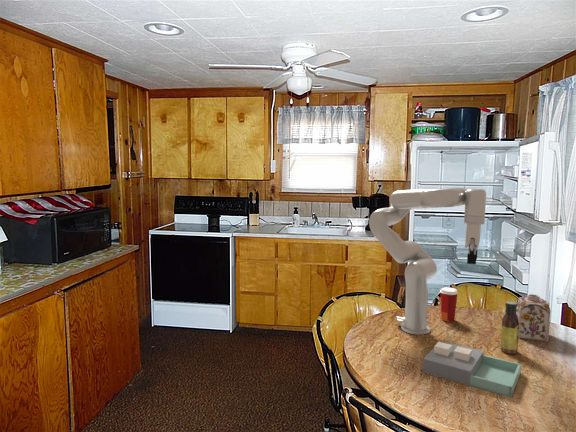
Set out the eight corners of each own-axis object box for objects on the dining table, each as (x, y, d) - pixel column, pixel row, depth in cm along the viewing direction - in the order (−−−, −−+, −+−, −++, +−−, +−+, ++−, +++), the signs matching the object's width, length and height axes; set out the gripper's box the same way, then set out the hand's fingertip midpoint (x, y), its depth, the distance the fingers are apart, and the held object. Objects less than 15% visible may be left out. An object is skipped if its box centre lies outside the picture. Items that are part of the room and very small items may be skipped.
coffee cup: (457, 318, 207) (458, 288, 206) (456, 323, 200) (457, 292, 198) (439, 315, 211) (440, 286, 209) (437, 321, 203) (438, 290, 202)
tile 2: (453, 357, 153) (453, 350, 153) (457, 352, 157) (457, 346, 157) (468, 361, 150) (468, 354, 150) (471, 356, 154) (472, 349, 154)
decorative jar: (548, 342, 179) (551, 301, 177) (517, 338, 183) (520, 297, 181) (543, 332, 190) (546, 293, 188) (514, 328, 194) (516, 290, 192)
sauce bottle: (520, 355, 166) (523, 306, 164) (502, 354, 168) (505, 305, 165) (514, 348, 173) (517, 301, 170) (498, 347, 174) (501, 300, 172)
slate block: (422, 372, 152) (423, 358, 152) (439, 352, 169) (440, 340, 168) (469, 385, 143) (470, 371, 143) (482, 363, 159) (483, 350, 159)
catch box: (469, 385, 143) (470, 375, 143) (482, 363, 159) (483, 354, 159) (511, 397, 136) (511, 387, 135) (520, 373, 152) (521, 363, 152)
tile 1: (433, 352, 157) (434, 346, 157) (438, 348, 161) (438, 341, 161) (447, 356, 154) (448, 349, 154) (451, 351, 158) (452, 344, 158)
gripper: (465, 217, 180) (463, 256, 182) (462, 221, 165) (460, 264, 167) (485, 218, 177) (482, 258, 179) (483, 222, 161) (481, 266, 163)
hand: (472, 261), depth 173 cm, fingers open, 9 cm apart
